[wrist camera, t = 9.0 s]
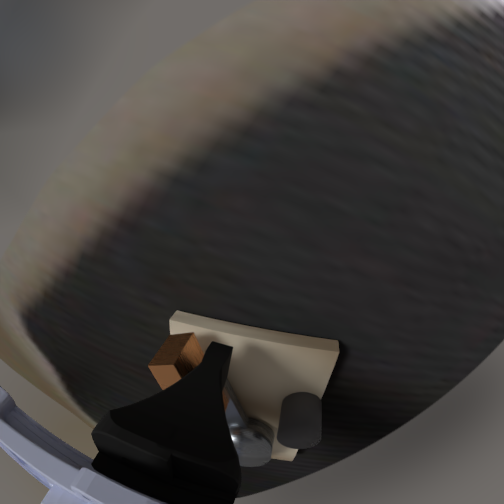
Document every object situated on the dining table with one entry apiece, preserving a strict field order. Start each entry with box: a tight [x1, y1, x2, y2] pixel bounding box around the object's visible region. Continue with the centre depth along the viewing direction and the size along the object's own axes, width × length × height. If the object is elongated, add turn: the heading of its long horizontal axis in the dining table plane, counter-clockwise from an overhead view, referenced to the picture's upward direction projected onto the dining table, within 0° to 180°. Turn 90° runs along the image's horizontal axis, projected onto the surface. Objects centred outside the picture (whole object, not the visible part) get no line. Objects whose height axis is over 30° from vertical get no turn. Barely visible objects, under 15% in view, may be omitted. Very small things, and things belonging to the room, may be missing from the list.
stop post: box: [277, 392, 322, 449], centre depth 14 cm, size 2×2×3 cm
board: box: [170, 311, 339, 461], centre depth 17 cm, size 12×9×1 cm
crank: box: [148, 332, 275, 467], centre depth 14 cm, size 12×4×3 cm, turn 18°
